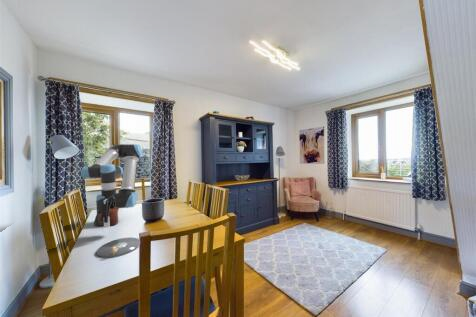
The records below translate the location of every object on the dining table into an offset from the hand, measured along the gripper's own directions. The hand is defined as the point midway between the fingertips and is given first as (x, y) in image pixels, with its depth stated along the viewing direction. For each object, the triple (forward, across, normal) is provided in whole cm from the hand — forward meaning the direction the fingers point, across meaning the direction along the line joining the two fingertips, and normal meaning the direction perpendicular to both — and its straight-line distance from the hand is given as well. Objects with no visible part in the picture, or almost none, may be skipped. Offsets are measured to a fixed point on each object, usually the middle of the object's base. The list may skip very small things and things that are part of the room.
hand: (110, 223), depth 117 cm
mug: (+1, 0, 0) cm, 1 cm away
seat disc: (+7, +19, +11) cm, 23 cm away
